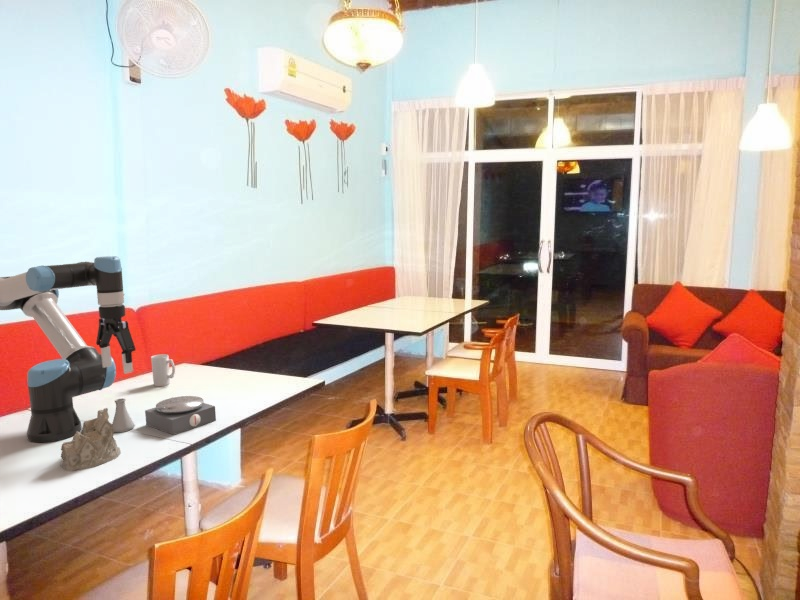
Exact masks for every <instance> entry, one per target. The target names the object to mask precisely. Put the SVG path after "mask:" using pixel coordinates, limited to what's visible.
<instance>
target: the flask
mask: <svg viewBox="0 0 800 600" xmlns="http://www.w3.org/2000/svg"><path fill="white" fill-rule="evenodd" d="M114 403H115V412H114V417H113V420H112V422H111V424H113V425H114V429H113V433H123V432H124V433H126V432H128V431H130V430H132V429H134V428H135V426H136V424H135V422H134V421H133V419H132V417H131V416H130V414H129V411H128V409H127V407H126V398H116V399H115V400H114Z"/></svg>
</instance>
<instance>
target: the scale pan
mask: <svg viewBox="0 0 800 600" xmlns="http://www.w3.org/2000/svg"><path fill="white" fill-rule="evenodd" d="M204 403H205V402H204V398H202V397H200V396H194V395H184V396H175V397H170V398H167V399H166V398H165V399H163V400H161V401H159V402H157V403H156V404H155V407H156V410H157V411H158V412H161V413H181V412H187V411H191V410H194V409H197V408H199V407H201V406H202V405H203V404H204Z"/></svg>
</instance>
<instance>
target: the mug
mask: <svg viewBox="0 0 800 600" xmlns="http://www.w3.org/2000/svg"><path fill="white" fill-rule="evenodd" d="M150 360H151V370H152V379H153V386H154V387H163V386H168V385H170V384H171V379H173V378H174V377H175V374H176V373H175V372H176V366H175V363H174V360H173V359H172V358H171V359H170V357H169V354H163V353H162V354H160V353H159V354H155V355H152V356H150ZM170 365H171V368H172V371H171V373H170Z"/></svg>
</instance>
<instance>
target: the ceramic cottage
mask: <svg viewBox="0 0 800 600" xmlns="http://www.w3.org/2000/svg"><path fill="white" fill-rule="evenodd" d="M108 410H109V409H108V407H105V408H102V409H99V410H97V415H96V416H97V417H96V418H92V419H88V420H85V421H83V424H82V430H81V431H80V432H78V431H76V434H75V435H73V436H72V440H71V441H65V442H63V443H62V444H61V446H60V447H61V448H60V450H61V453H60V458H61V460H62V462H61V463H60V467H61V468H62V469H63V470H64V471H67V472H70V471H71V472H72V471H77V470H83V469H89V468H93V467H94V468H95V467H97V466H100V465H104V464H107V463H109V462H112V461H113V460H115V459H117V458H118V457H120V455H121V453H122V452H121V448H120V446H118V444H117V440H116V439H115V437H114V432H113V429H114V425H113V424H112V422H110V420H109V417H110V415H109V412H108Z"/></svg>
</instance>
